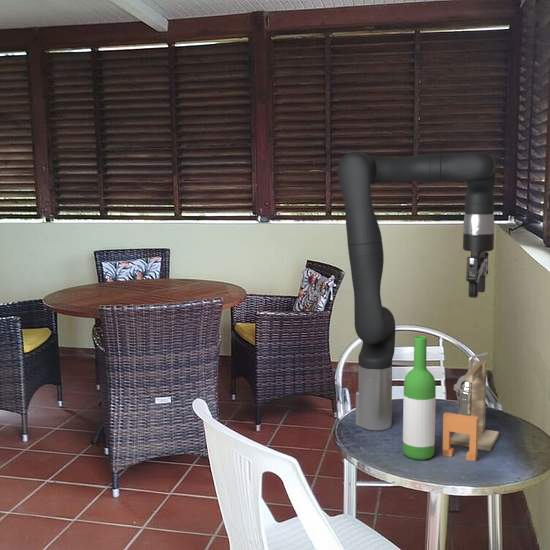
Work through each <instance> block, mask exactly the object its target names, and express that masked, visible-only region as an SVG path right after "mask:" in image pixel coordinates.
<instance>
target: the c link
mask: <svg viewBox="0 0 550 550" xmlns="http://www.w3.org/2000/svg"><path fill="white" fill-rule="evenodd" d="M442 416H443V417H442V457H443V456H445V457H450V458H452V457H453V456H454V447H451V445H452V444H451V438H452V433H455V432H456V433H462V434H468V435H470V447H468V448H469V449H468V451H467V452H466V454H465V455H466V457H465V459H466V461H472V462H476V461H477V460H478V450H479V449H478V417H474V416H467V415H460V414H459V413H454V412H445V411H444V413H443V415H442Z"/></svg>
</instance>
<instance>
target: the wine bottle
mask: <svg viewBox="0 0 550 550" xmlns="http://www.w3.org/2000/svg"><path fill="white" fill-rule="evenodd" d="M427 342H428V341H427V336H424V335H416V336H414V342H413V343H414V345H413V368H412V369H411V370H409V371H408V373H406V375H405V376H404V377H405V378H404V380H403V399H402V400H403V402H402V403H403V407H402V408H403V409H402V411H403V412H402V414H403V416H402V452H403V453H404V455H405V456H406V457H408V458H409V459H412V460H416V461H421V460H422V461H423V460H425V461H426V460H428V459H431V458H433V456H434V454H435V445H436V444H435V443H436V398H437V397H436V395H437V393H436V391H437V390H436V389H437V388H436V387H437V384H436V379H435V377H434V375H433V374H432V373H431V371H429V369H427Z"/></svg>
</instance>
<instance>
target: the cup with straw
mask: <svg viewBox="0 0 550 550" xmlns="http://www.w3.org/2000/svg"><path fill="white" fill-rule="evenodd" d="M488 355H489V353H488V352H487V351H486V352H482V353H478V354H476V355H471V356H469V358H468V364H467V365H468V369H467V372H468V371H469V370H470V369H471V368H472V360H473V359H476V358H480V357H484V356H488ZM453 391H455V394H456V397H457V398H456V399H457V406H458V414H460V415H467V416H471V402H472V383H470V382H466V374H464V375H462V376H460V377H459V378H458V380H457V381H456V383H455V384H454V385H453Z"/></svg>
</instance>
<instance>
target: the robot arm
mask: <svg viewBox="0 0 550 550" xmlns="http://www.w3.org/2000/svg"><path fill="white" fill-rule="evenodd" d="M496 168H497V165H496V160H495V158H494V157H493V156H492V155H491V154H489V153H488V152H484V151H472V152H471V151H470V152H462V153H425V154H423V153H422V154H416V155H415V154H414V155H409V156H408V155H407V156H397V157H396V156H395V157H394V156H393V157H392V156H391V157H389V156H388V157H385V156H377V155H368V154H367V153H363V152H359V151H351V152H347V153H346V154H344V156H342V157H341V159H340V160H339V163H338V166H337V176H338V181H339V186H340V189H341V195H342V198H343V204H344V213H345V227H346V237H347V239H346V241H347V249H348V260H349V265H350V272H351V273H350V274H351V275H350V276H351V280H352V287H353V289H352V290H353V300H354V304H353V305H354V317H353V318H354V330H355V333H356V335H357V337H358V338H359V340H360V341H361V342H362V344H361V349H360V352H359V354H358V364H357V365H358V366H357V367H358V377H357V378H358V379H357V381H358V382H357V383H358V384H357V385H358V386H357V387H358V390H357V391H356V392H355V426H359V427H360V428H362V429H365V430H369V431H384V430H388V429H390V428H391V427H392V424H393V423H392V420H393V416H392V415H393V414H392V413H393V412H392V410H393V359H394V355H395V344H396V320H395V317H394V314H393V313H392V312H391V310H389V308H387V307H385V306H384V305H382V298H381V283H382V275H383V273H384V263H385V262H384V256H385V255H384V246H383V238H382V231H381V228H380V226H379V222H378V220H377V217H376V214H375V211H374V207H373V202H372V191H371V190H372V188H371V185H374V184H379V183H384V182H397V181H400V182H401V181H403V182H422V183H423V182H426V183H427V182H429V183H430V182H448V181H467V187H466V188H467V190H466V191H467V192H466V193H465V200H464V217H463V218H464V219H463V226H462V227H463V228H462V229H463V230H462V231H463V232H462V249H463V250H464V251H465V252H466V251H467V252H470V256H468V257H466V272H465V281H466V282H467V283H468V297H469V298H471V299H472V298H474V299H476V298H478V296H479V293H485V292H486V279H487V276H488V274H489V252H491V251H493V250H494V249H495V245H494V244H495V216H494V214H495V213H494V212H495V198H494V196H495V195H494V191H495V190H494V189H495V180H496Z"/></svg>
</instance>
